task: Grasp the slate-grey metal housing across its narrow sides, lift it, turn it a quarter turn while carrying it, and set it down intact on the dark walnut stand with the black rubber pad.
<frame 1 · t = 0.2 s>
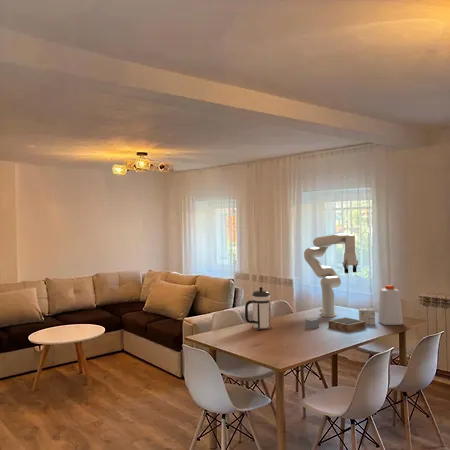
hand: (350, 272, 340), 37 cm above the table, tool pointing down, fingers open, 9 cm apart
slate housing: (312, 327, 320), on the table
light bulb box: (367, 324, 329), on the table
walnut stand: (347, 327, 317), on the table
coffee press: (260, 329, 318), on the table
plastic bottle: (390, 323, 328), on the table
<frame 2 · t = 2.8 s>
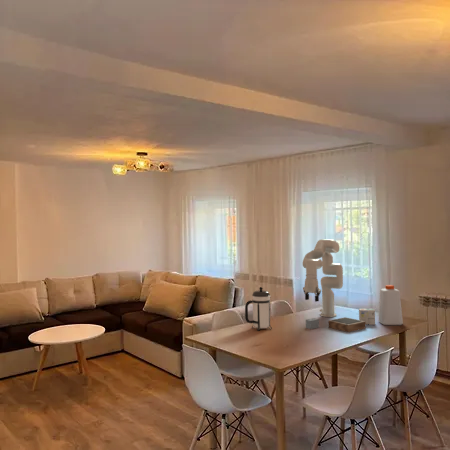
hand: (311, 300, 320), 20 cm above the table, tool pointing down, fingers open, 9 cm apart
nothing on the table moved.
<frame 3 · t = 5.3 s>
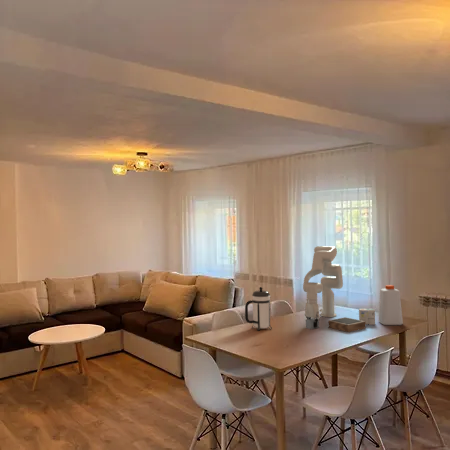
hand: (312, 326, 320), 1 cm above the table, tool pointing down, fingers closed on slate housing, 5 cm apart
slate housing: (312, 327, 320), on the table, touching gripper
everything else where it was.
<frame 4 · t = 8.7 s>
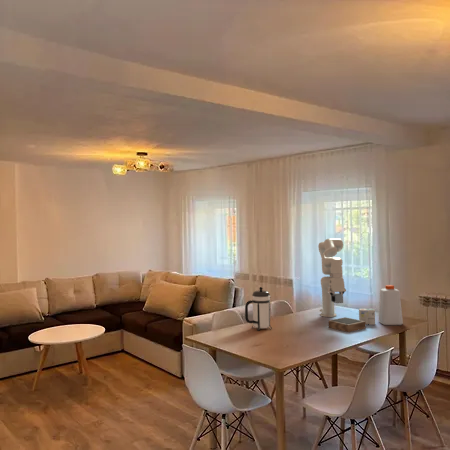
hand: (337, 300, 317), 19 cm above the table, tool pointing down, fingers closed on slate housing, 5 cm apart
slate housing: (337, 302, 317), point 18 cm above the table, touching gripper
everything else where it was.
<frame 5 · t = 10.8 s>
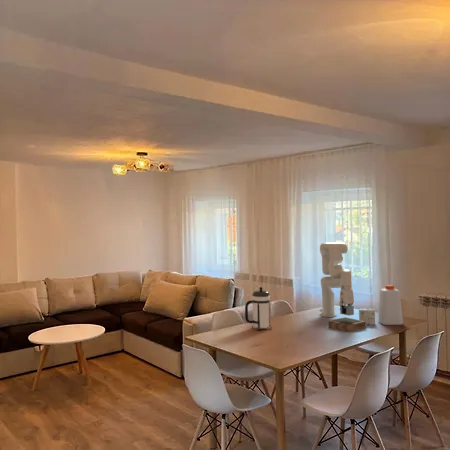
hand: (346, 312, 316), 11 cm above the table, tool pointing down, fingers closed on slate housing, 5 cm apart
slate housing: (347, 314, 316), point 10 cm above the table, touching gripper
everything else where it was.
when the fingers open (8 cm above the table, at t = 12.3 s): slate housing drops 1 cm, resting on walnut stand.
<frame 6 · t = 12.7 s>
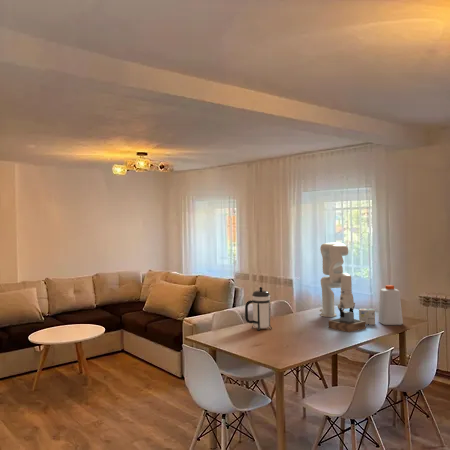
hand: (346, 316, 317), 8 cm above the table, tool pointing down, fingers open, 9 cm apart
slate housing: (347, 320, 316), point 5 cm above the table, touching walnut stand
everything else where it was.
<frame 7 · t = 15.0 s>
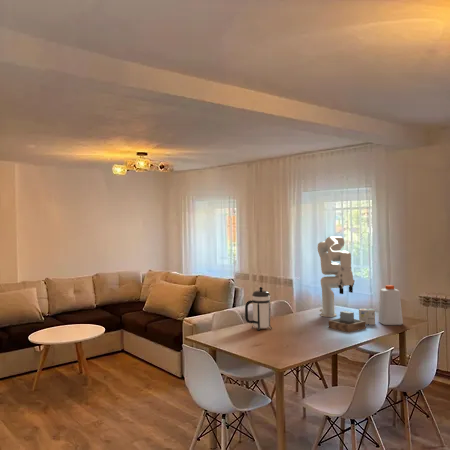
hand: (346, 293, 320), 24 cm above the table, tool pointing down, fingers open, 9 cm apart
nothing on the table moved.
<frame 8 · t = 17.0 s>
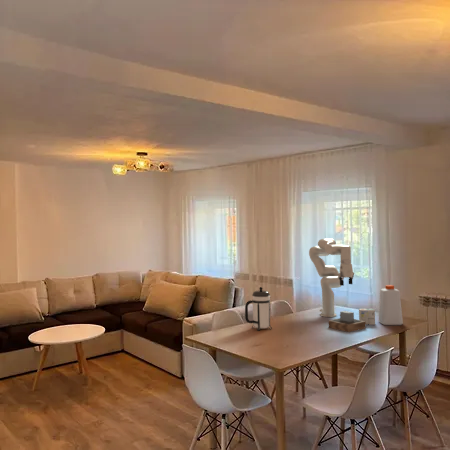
hand: (346, 284, 334), 28 cm above the table, tool pointing down, fingers open, 9 cm apart
nothing on the table moved.
at the end: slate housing inside the target area on the walnut stand (0.2 cm from its centre), point 5.3 cm above the walnut stand's base; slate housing tilted 0°; the gripper is holding nothing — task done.
